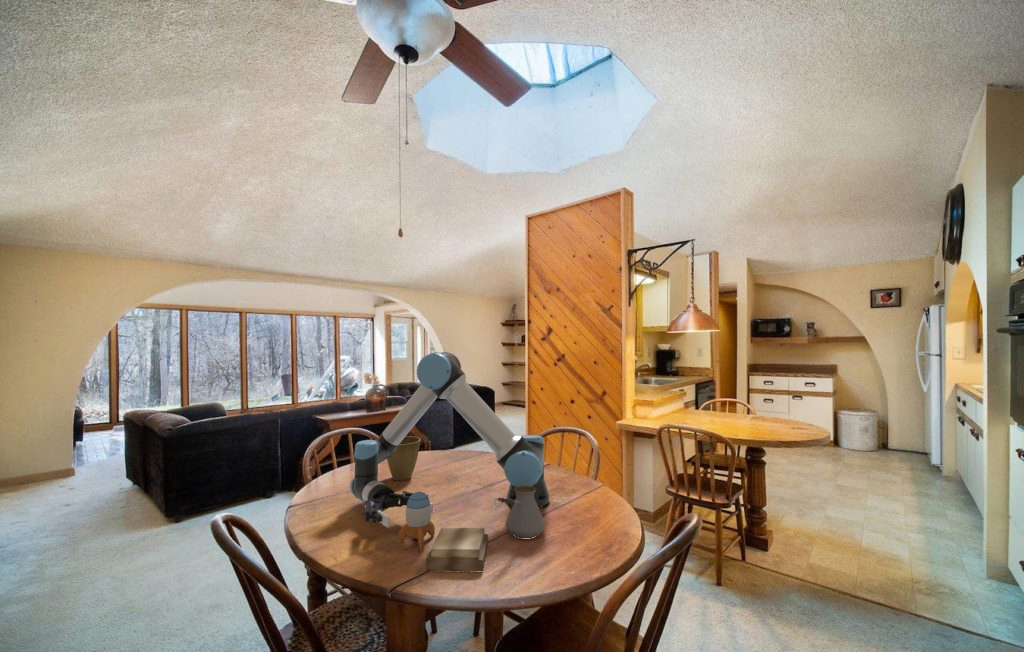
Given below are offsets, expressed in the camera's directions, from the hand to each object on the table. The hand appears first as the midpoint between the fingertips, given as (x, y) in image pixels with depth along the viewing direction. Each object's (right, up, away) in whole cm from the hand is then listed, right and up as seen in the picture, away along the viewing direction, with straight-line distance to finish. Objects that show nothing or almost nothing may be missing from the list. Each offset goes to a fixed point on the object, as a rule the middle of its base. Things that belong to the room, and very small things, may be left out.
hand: (411, 515), depth 119 cm
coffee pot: (+30, -7, 0) cm, 31 cm away
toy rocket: (+1, -8, -1) cm, 8 cm away
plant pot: (-18, -10, +57) cm, 60 cm away
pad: (+15, -7, -9) cm, 19 cm away
